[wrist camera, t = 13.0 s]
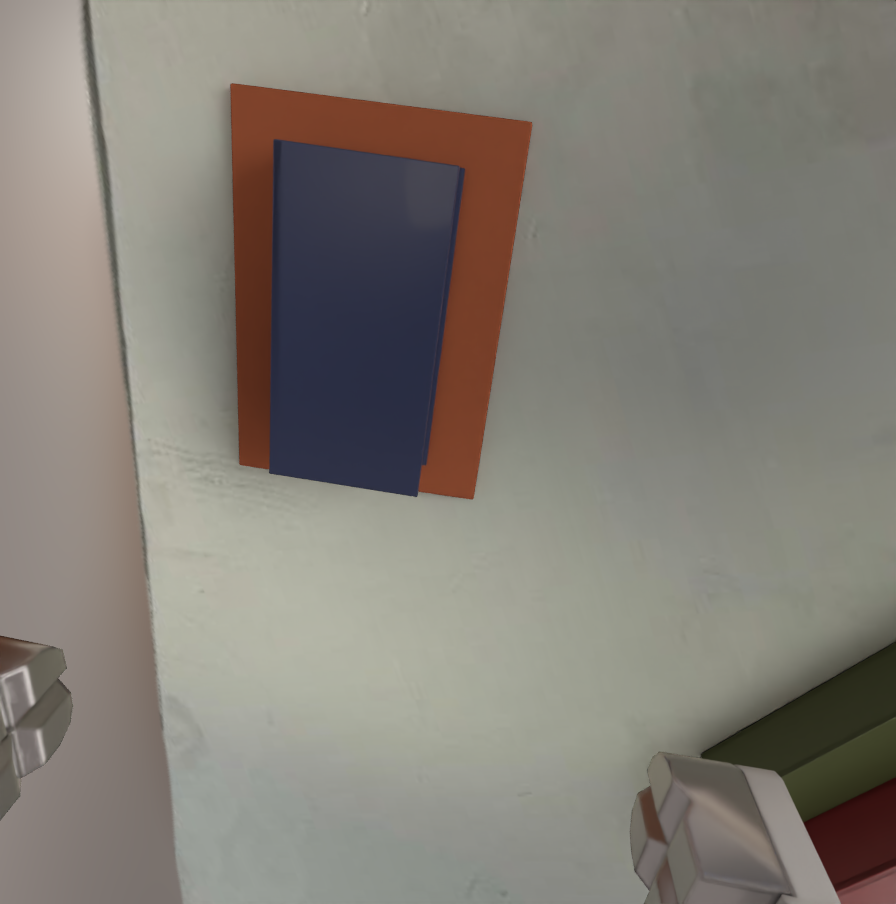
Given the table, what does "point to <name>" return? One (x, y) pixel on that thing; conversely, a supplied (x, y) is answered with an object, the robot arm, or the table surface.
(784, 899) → the robot arm
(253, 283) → the rubber mat
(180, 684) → the table surface
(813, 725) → the olive book
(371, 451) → the navy book
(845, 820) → the burgundy book
